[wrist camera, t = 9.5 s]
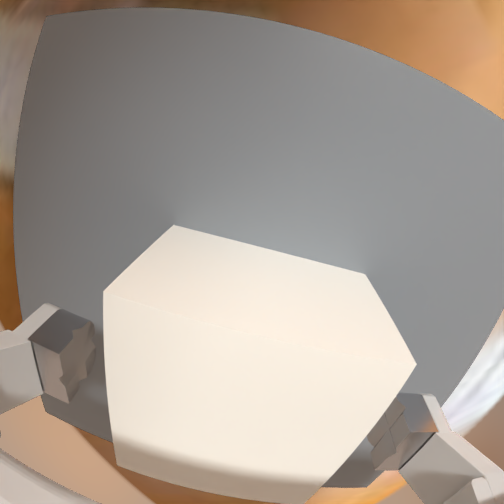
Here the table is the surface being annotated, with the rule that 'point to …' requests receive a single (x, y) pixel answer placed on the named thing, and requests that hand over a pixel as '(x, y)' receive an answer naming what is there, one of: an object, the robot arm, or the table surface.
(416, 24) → the table surface
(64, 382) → the robot arm
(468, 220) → the socket
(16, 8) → the table surface
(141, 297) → the cream white block
